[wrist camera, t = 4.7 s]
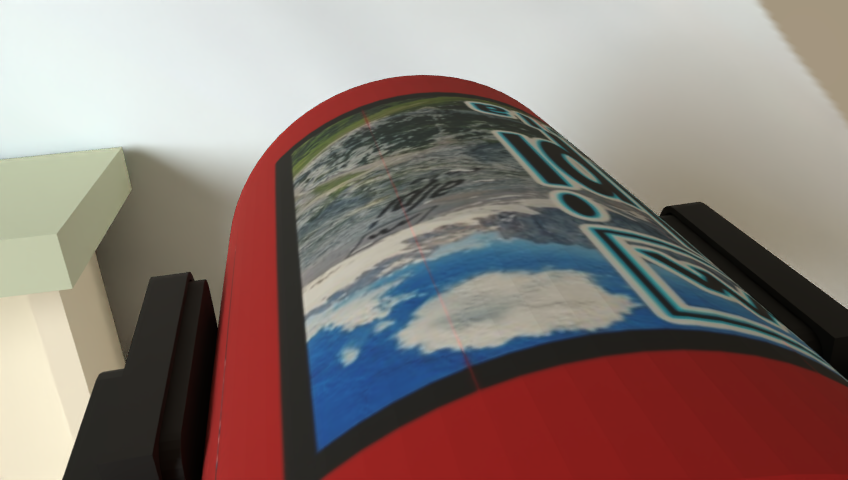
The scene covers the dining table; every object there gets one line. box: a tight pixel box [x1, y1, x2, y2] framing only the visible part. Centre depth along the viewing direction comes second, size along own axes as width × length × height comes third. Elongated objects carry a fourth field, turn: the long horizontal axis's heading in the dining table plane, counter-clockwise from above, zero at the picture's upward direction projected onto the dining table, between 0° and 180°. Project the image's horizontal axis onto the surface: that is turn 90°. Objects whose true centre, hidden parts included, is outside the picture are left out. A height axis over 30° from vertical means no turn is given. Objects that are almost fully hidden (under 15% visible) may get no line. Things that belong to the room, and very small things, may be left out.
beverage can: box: [201, 75, 848, 480], centre depth 9 cm, size 7×7×12 cm
